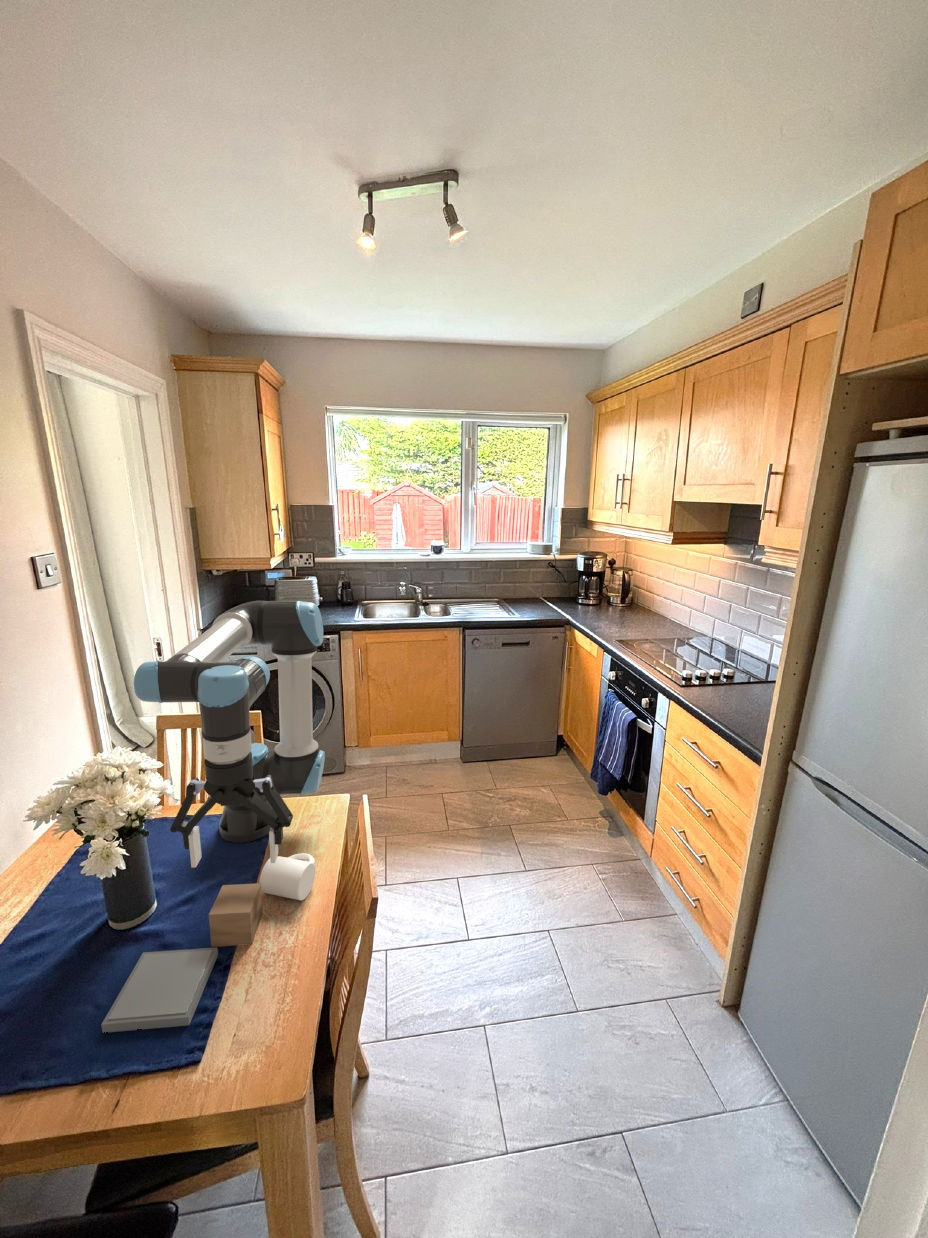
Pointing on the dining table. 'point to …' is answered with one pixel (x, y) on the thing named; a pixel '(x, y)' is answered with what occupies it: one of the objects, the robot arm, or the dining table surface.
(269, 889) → the mug
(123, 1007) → the plate
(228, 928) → the cube
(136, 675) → the robot arm
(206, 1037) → the dining table surface
